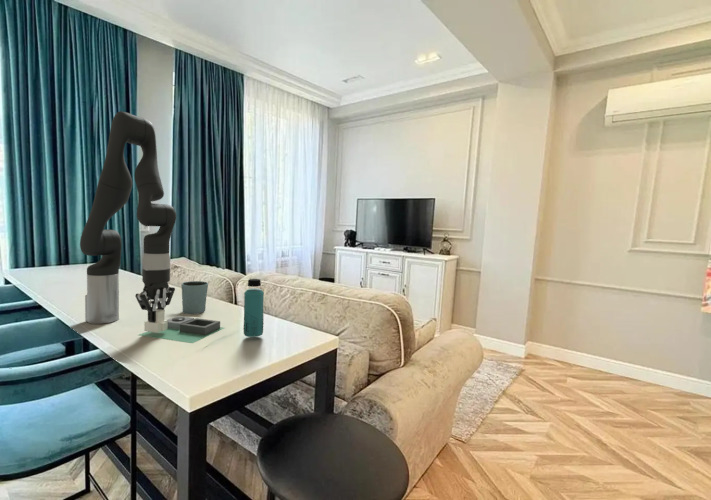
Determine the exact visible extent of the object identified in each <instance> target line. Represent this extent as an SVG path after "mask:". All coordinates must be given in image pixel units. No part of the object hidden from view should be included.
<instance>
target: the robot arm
mask: <svg viewBox="0 0 711 500" xmlns="http://www.w3.org/2000/svg"><path fill="white" fill-rule="evenodd" d="M110 125H111V126H110V130H109V137H108V141H107V148H106V154H105V158H104V162H103V166H102V169H101V173H100V176H99V179H98V183H97V187H96V190H95V194H94V199H93V202H92V206H91V210H90V213H89V215H88V218H87V220H86V222H85V226H84V228H83V230H82V233H81V236H80V240H79V241H80V242H79V245H80V246H79V247H80V251H81V252H82V254H83V255H85V256H90V257H91V256H93V257H94V256H95V257H97V256H98V257H99V256H101V259H99V260H97V262H94V263H93V264H90V265H88V266H87V268H86V294H85V296H84V306H85V308H84V309H85V310H84V311H85V313H84V315H85V317H84V318H85V322H87V323H88V324H94V325H98V324H108V323H112V322H117V321H118V320H120V319H119V318H120V294H119V293H120V290H119V289H120V283H119V282H120V279H119V277H120V276H119V274H120V267H121V265H122V264H121V261H122V260H121V259H122V244H123V243H122V236H121V234H120V233H119V231H117V230H115V229H105V227H106V225H107V223H108V221H109V220H110V219H111V218H112V217H114V215H115V214H116V213H118V212H119V211H120V210H121V209H122V208H123V207H124V206H125V205H126V204H127V203H128V201H129V199H130V195H131V192H132V189H133V177H132V175H131V173H130V170H129V168H128V166H127V163H126V159H125V147H126V146H125V145H126V143H128V144H131V145H133V146H138V147H140V148H141V151H142V156H141V159H140V160H139V162H138V164H137V165H136V168H135V170H134V182H135V186H136V190H137V194H138V196H137V198H138V199H137V208H136V209H137V210H136V219H137V221H138V222H139V223H140V224H141V225H142V226H145V227H159V228H158V230H157V231H156V232H154V233H149V234H145V235H144V237H143V255H142V256H143V257H142V281H141V282H143V285H144V286H143V288H142V291H141V292H140V293H136V294H135V299H136V301H137V302H138V304H139V306H140V309H141V310H142V311H143V310H144V311H147V321H149V322H152V323H154V322H156V311H155V310H156V309H161V310H165V308H166V307H167V306H169V305H170V304H171V302H172V298H173V296H174V293H175V291H176V288H175V287H172V286H170V285H169V283H170V281H171V256H170V241H171V237H172V235H173V230H174V227H175V224H176V222H177V221H176V220H177V212H176V210H175V208H174V207H173V206H172V205H170V204H166V203H165V204H162V203H152V202H156V201H160V200H161V199H163V198H164V195H165V192H164V187H163V184H162V179H161V176H160V172H159V166H158V151H157V150H158V149H157V148H158V147H157V137H156V130H155V126H154V124H153V123H152V122H151V121H150V120H149V119H147V118H145V117H141V116H137V115H135V114H132V113H130V112H126V111H122V110H120V111H117V112H116V113H115V114H114V116H113V118H112V121H111V124H110Z"/></svg>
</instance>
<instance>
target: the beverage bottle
mask: <svg viewBox="0 0 711 500" xmlns="http://www.w3.org/2000/svg"><path fill="white" fill-rule="evenodd" d="M261 282H262V281H261V279H259V278H250V279H248V280H247V286H248V287H250V288H247V290H245V292H244V298H243V299H244V303H243V332H242V333H243V335H244V336H245V337H248V338H256V337H260V336H262V335H263V333H264V301H265V299H264V296H265V295H264V294H265V292H264V291H263V290H262V289H261V288H258V287H261V286H262V283H261ZM251 287H254V288H251ZM255 287H256V288H255Z"/></svg>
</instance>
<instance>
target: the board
mask: <svg viewBox="0 0 711 500" xmlns="http://www.w3.org/2000/svg"><path fill="white" fill-rule="evenodd" d="M166 320H168V329H167V330H164V331H161V332H159V333H155V332H149V331H144V332H142V333H140V334H138V336H142V337H146V338H147V337H149V338H156V339H161V340H168V341H174V342H180V343H189V344H194V343H197V342H198V341H201V340H203V339H205V338H207V337H209V336H211V335H213V334H215V333H218V332H220V331H221V330H224V329H225V327H221V320H213V319H205V318H197V317H196V318H194V317H188V316H181V315H177V316H174V317H171V318H168V319H166Z"/></svg>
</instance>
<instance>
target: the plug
mask: <svg viewBox="0 0 711 500" xmlns="http://www.w3.org/2000/svg"><path fill="white" fill-rule="evenodd" d="M155 311H156V322H154V323H152V322H149V321H148V320H146V321H144V323H143V325H144V327H143V329H144V332H148V331H149V332H155V333H159V332H161V331H164V330H167V329H168V320H167V319H165V318H166V316H165V314H166V313H165V312H166V311H165V309H164V310H161V309H156V310H155Z"/></svg>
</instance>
